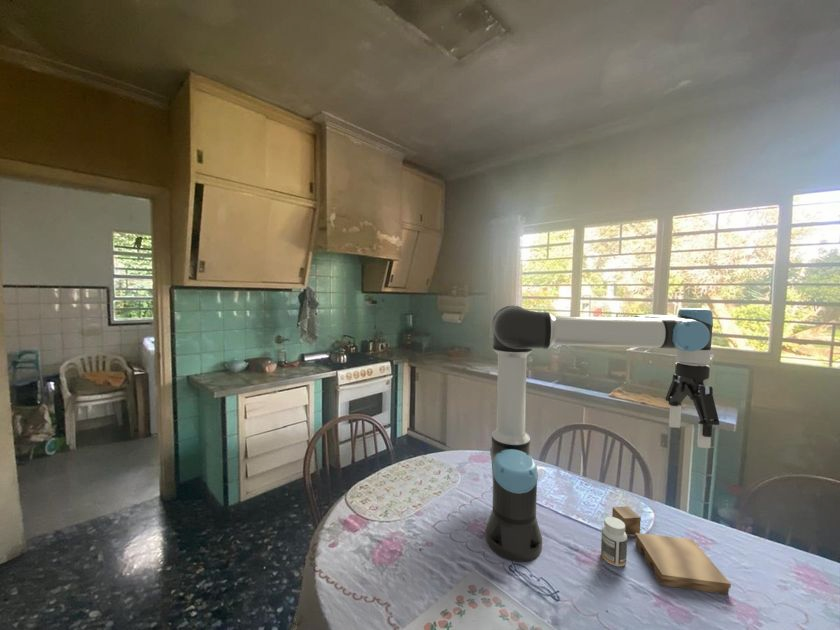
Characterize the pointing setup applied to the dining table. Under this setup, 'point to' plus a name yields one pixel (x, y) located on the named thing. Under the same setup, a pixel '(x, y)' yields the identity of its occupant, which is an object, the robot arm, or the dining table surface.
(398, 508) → the dining table surface
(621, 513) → the wooden cube
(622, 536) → the pill bottle
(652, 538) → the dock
